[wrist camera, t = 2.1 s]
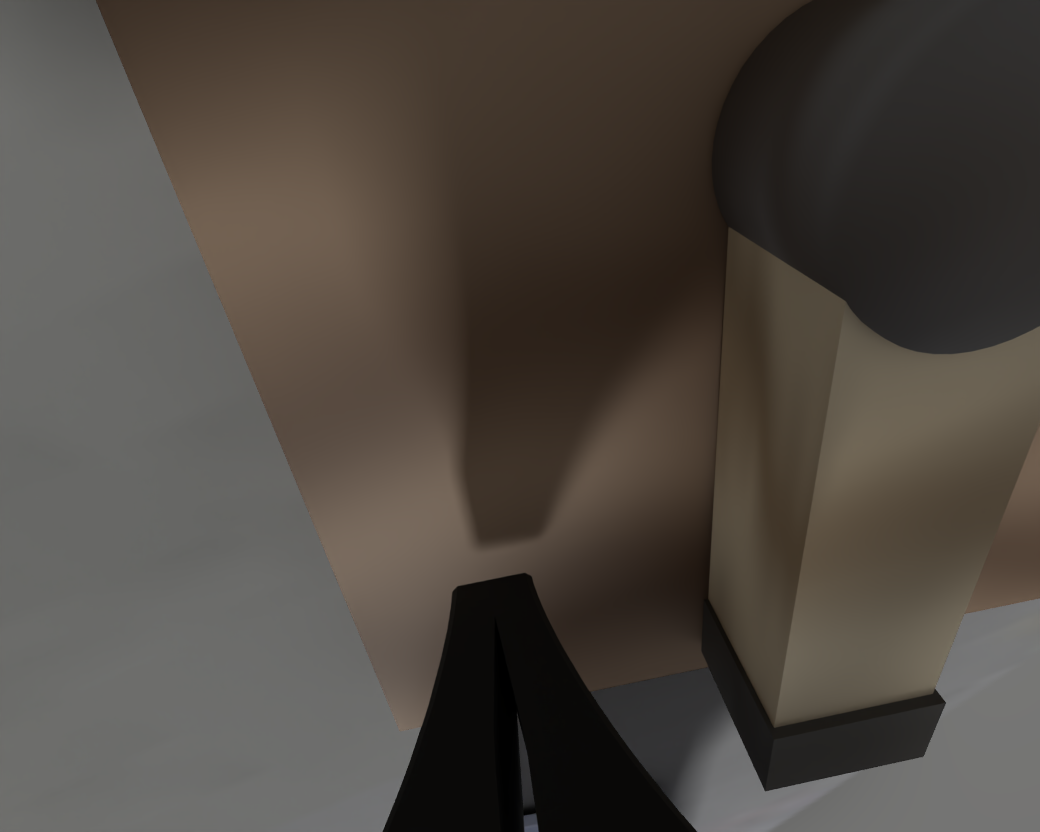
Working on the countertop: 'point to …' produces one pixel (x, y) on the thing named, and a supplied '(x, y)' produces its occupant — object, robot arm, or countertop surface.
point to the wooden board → (482, 297)
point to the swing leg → (868, 365)
